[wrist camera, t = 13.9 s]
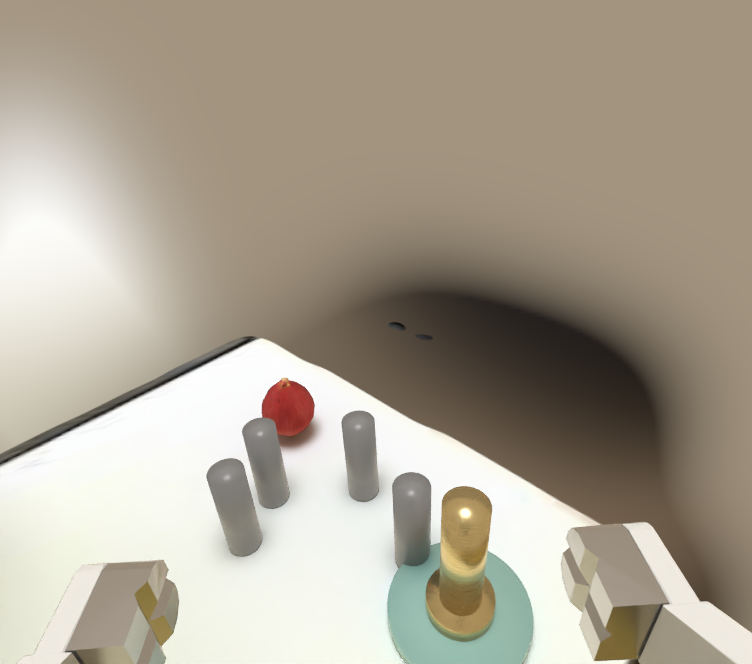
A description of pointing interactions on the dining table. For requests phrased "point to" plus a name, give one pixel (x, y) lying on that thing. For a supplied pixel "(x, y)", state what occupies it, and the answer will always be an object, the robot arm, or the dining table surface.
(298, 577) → the dining table surface
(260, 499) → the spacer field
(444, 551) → the bolt
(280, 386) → the pomegranate
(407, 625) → the saucer
